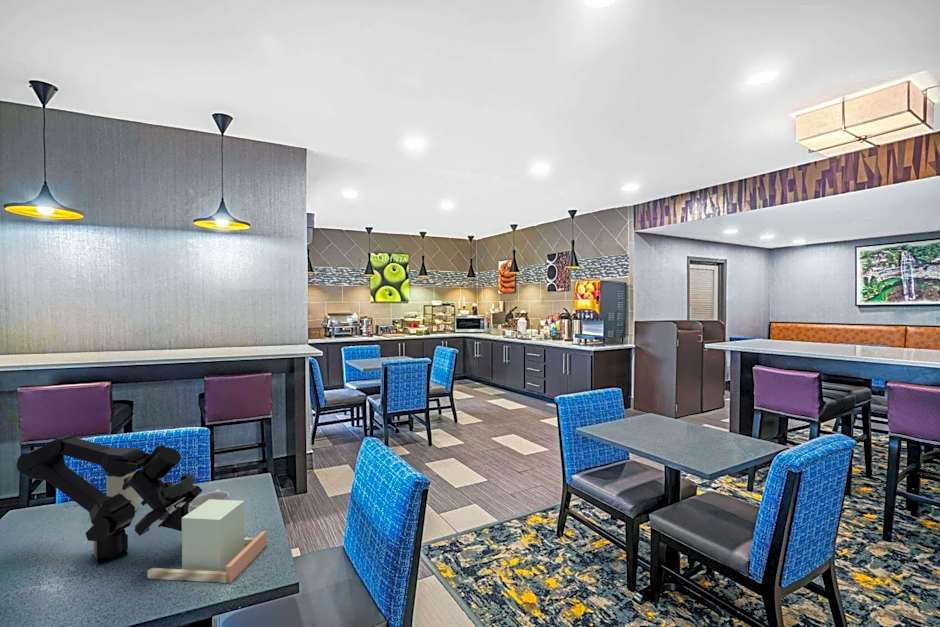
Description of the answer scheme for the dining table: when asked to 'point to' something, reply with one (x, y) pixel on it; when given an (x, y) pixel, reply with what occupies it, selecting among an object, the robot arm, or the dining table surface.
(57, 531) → the dining table surface
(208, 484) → the dining table surface
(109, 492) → the travel mug
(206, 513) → the sage block
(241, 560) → the guide chute
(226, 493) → the teacup
